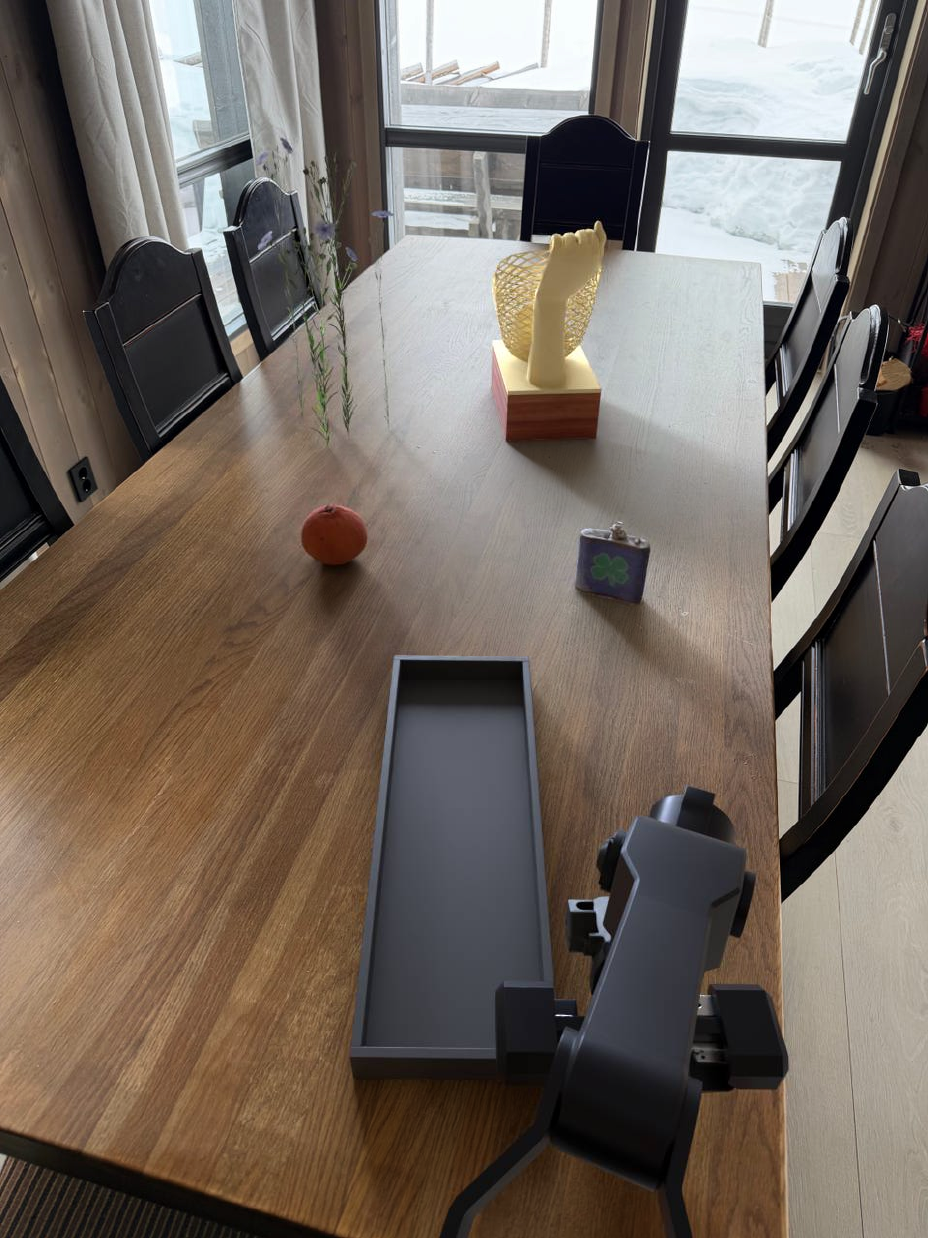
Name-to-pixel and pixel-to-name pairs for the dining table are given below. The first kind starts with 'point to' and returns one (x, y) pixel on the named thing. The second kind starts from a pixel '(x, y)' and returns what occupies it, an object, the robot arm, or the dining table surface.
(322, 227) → the wildflower
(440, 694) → the black tray
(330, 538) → the fruit
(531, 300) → the raised fist statue
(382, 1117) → the dining table surface
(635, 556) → the flask
